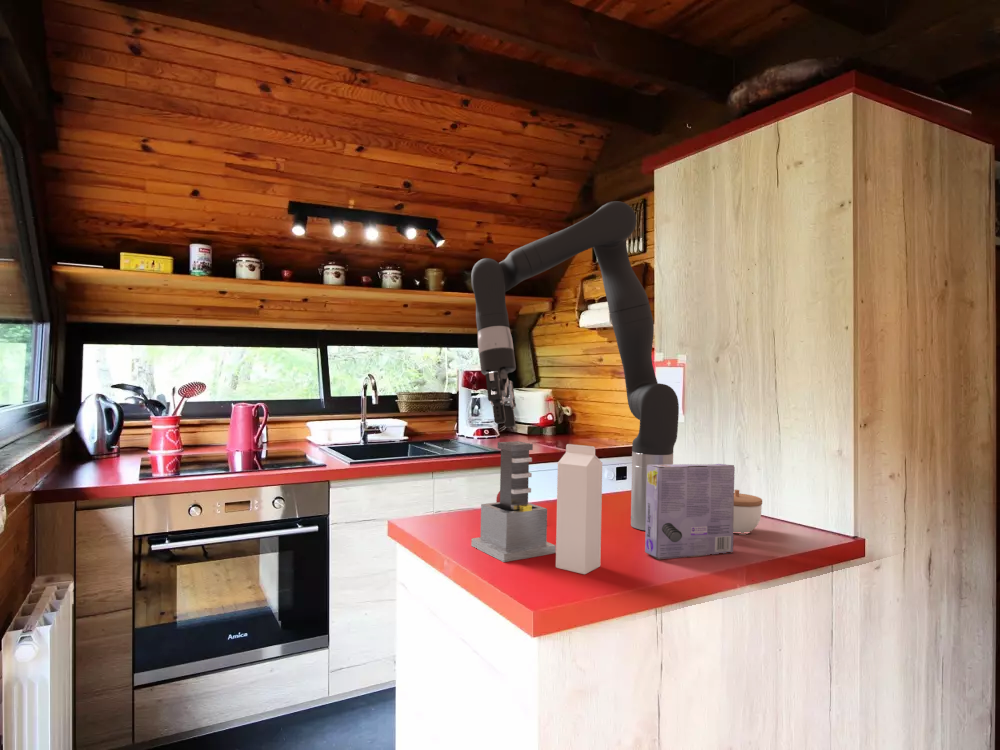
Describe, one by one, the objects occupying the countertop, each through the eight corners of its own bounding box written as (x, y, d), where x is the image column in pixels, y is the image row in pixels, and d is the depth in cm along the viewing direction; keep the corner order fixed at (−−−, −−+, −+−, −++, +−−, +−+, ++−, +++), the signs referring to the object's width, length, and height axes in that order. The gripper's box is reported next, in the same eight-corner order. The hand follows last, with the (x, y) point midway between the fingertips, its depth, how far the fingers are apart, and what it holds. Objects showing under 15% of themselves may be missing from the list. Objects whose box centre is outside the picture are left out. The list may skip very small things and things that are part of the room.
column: (516, 535, 123) (518, 441, 123) (532, 542, 118) (534, 444, 118) (495, 538, 120) (497, 442, 120) (510, 545, 115) (512, 445, 116)
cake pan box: (721, 546, 125) (723, 460, 125) (739, 553, 120) (741, 464, 120) (642, 554, 118) (644, 463, 118) (657, 561, 114) (659, 467, 114)
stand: (520, 538, 128) (521, 493, 128) (555, 553, 117) (556, 504, 118) (471, 545, 121) (472, 498, 121) (503, 562, 111) (504, 510, 111)
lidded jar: (763, 529, 140) (764, 488, 140) (759, 539, 131) (760, 496, 131) (714, 523, 145) (715, 484, 145) (707, 533, 136) (708, 491, 136)
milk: (571, 560, 113) (574, 442, 114) (601, 566, 110) (603, 445, 110) (554, 568, 108) (557, 444, 109) (584, 575, 105) (587, 447, 105)
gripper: (504, 340, 123) (515, 419, 119) (520, 354, 136) (529, 425, 133) (469, 346, 124) (478, 424, 121) (488, 360, 138) (497, 430, 135)
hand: (505, 425), depth 127 cm, fingers open, 8 cm apart
